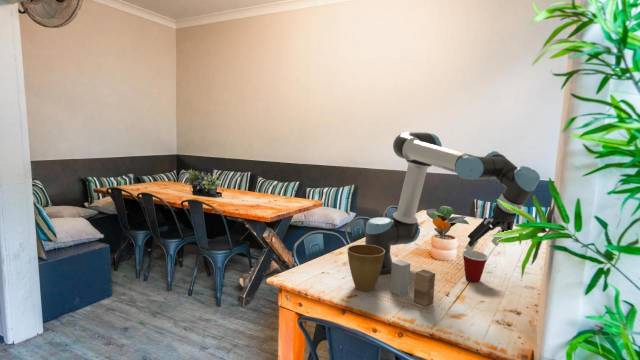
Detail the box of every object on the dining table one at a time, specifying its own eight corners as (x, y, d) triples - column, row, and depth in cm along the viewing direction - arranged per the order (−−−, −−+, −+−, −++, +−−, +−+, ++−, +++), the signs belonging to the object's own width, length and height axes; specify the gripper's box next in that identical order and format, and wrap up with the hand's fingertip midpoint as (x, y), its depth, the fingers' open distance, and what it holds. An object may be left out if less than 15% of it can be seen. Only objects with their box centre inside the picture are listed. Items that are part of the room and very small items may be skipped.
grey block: (400, 295, 141) (402, 265, 140) (390, 291, 145) (392, 262, 144) (408, 292, 144) (410, 263, 143) (398, 288, 148) (400, 259, 147)
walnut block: (424, 308, 131) (426, 276, 130) (413, 303, 135) (415, 271, 133) (432, 305, 134) (435, 273, 133) (421, 300, 138) (423, 269, 137)
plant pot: (358, 278, 157) (360, 242, 156) (389, 287, 148) (391, 249, 146) (338, 288, 146) (339, 249, 144) (370, 299, 137) (372, 258, 135)
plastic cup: (470, 286, 153) (473, 258, 152) (454, 276, 163) (456, 250, 162) (492, 284, 156) (494, 257, 155) (475, 275, 166) (477, 249, 165)
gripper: (488, 220, 119) (462, 261, 133) (540, 208, 129) (511, 247, 142) (473, 205, 125) (450, 246, 138) (524, 194, 134) (497, 233, 147)
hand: (481, 247), depth 140 cm, fingers open, 13 cm apart
